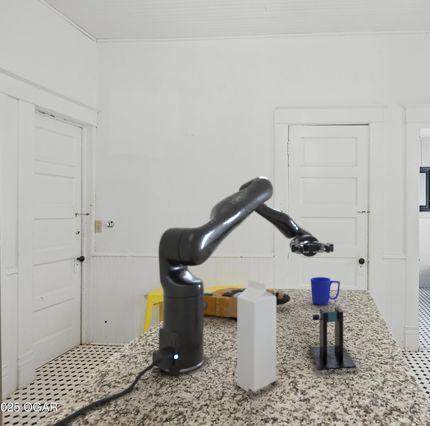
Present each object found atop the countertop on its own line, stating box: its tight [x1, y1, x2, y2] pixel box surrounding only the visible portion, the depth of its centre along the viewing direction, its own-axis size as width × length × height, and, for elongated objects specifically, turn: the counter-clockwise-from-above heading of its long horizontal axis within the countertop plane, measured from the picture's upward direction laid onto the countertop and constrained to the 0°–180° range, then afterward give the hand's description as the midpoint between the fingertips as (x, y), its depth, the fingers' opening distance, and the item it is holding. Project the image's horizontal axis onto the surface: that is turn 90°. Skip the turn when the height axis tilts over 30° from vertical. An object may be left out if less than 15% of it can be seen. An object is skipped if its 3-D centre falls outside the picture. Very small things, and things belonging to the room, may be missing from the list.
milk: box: [236, 279, 277, 393], centre depth 66 cm, size 6×6×22 cm
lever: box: [312, 310, 337, 323], centre depth 82 cm, size 13×6×2 cm, turn 9°
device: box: [204, 287, 291, 319], centre depth 117 cm, size 23×8×30 cm
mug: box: [310, 276, 341, 306], centre depth 128 cm, size 8×12×10 cm
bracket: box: [309, 306, 357, 371], centre depth 77 cm, size 12×9×13 cm
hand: (315, 249), depth 98 cm, fingers open, 8 cm apart
